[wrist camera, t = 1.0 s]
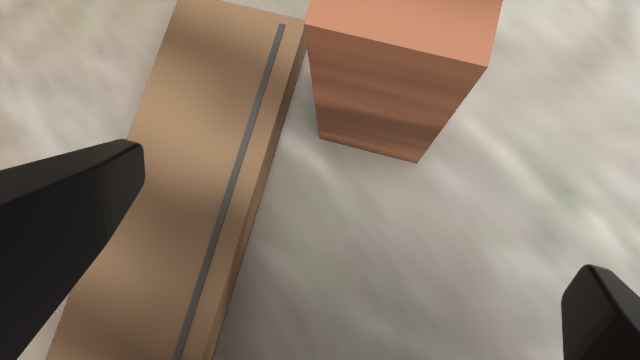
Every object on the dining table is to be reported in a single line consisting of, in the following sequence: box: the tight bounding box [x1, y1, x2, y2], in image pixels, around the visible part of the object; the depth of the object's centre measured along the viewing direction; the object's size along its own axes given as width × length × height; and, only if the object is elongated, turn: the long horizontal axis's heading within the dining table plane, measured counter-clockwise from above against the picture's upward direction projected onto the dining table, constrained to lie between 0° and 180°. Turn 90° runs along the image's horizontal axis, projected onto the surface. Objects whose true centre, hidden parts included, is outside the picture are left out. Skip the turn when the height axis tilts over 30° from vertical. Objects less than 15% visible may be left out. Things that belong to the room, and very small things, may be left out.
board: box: [46, 0, 307, 360], centre depth 22 cm, size 22×6×2 cm, turn 165°
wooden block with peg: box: [304, 0, 503, 163], centre depth 18 cm, size 8×5×11 cm, turn 165°
